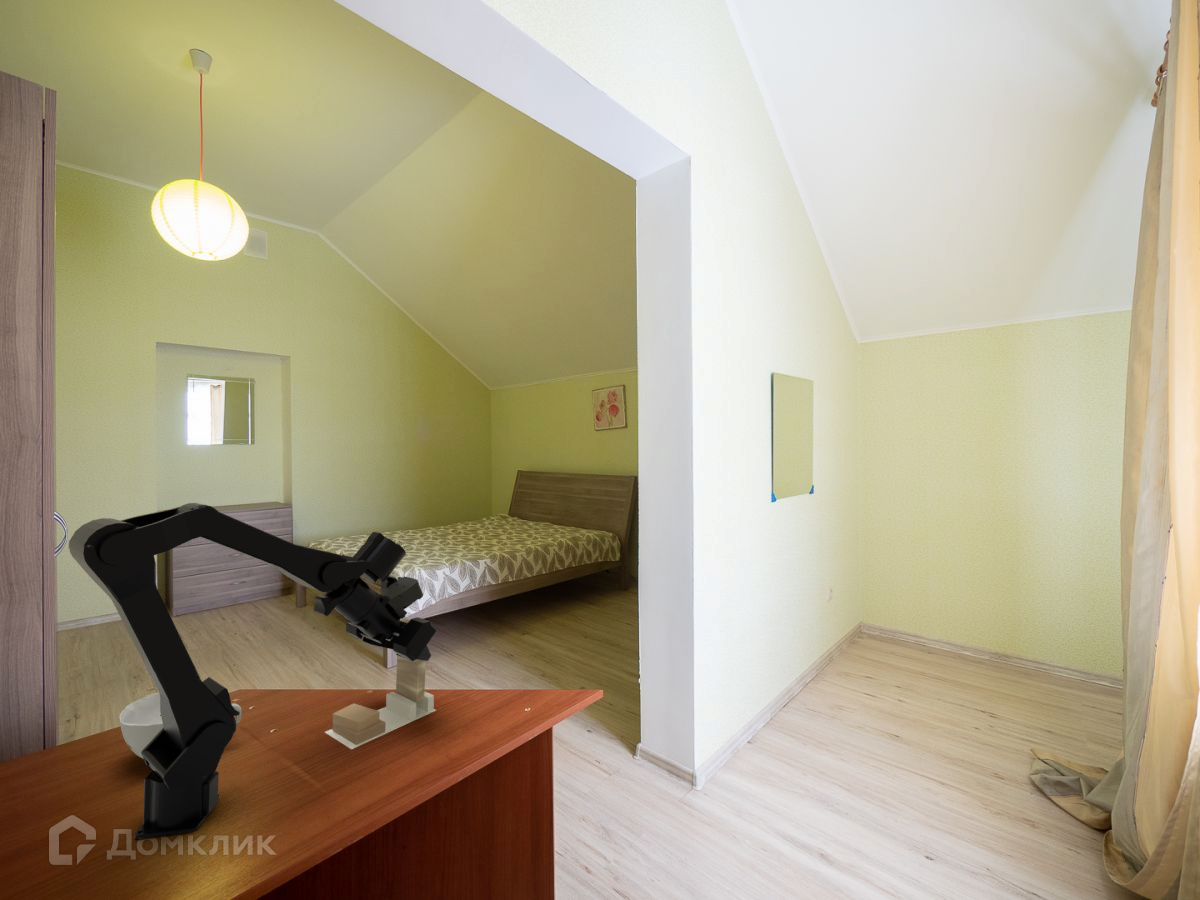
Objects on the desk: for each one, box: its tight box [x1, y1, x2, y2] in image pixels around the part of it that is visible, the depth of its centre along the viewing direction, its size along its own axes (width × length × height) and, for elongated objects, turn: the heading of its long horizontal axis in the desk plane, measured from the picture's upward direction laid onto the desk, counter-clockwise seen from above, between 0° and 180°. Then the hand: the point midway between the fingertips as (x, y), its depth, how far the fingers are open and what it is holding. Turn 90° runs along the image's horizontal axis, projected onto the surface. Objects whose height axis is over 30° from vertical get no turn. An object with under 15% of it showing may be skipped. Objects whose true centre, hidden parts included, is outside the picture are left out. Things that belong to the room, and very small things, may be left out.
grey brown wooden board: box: [395, 617, 427, 703], centre depth 93 cm, size 2×6×13 cm, turn 54°
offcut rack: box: [324, 691, 437, 750], centre depth 89 cm, size 16×8×4 cm, turn 145°
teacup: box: [118, 691, 243, 759], centre depth 80 cm, size 15×12×8 cm
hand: (418, 653), depth 95 cm, fingers closed on grey brown wooden board, 6 cm apart
